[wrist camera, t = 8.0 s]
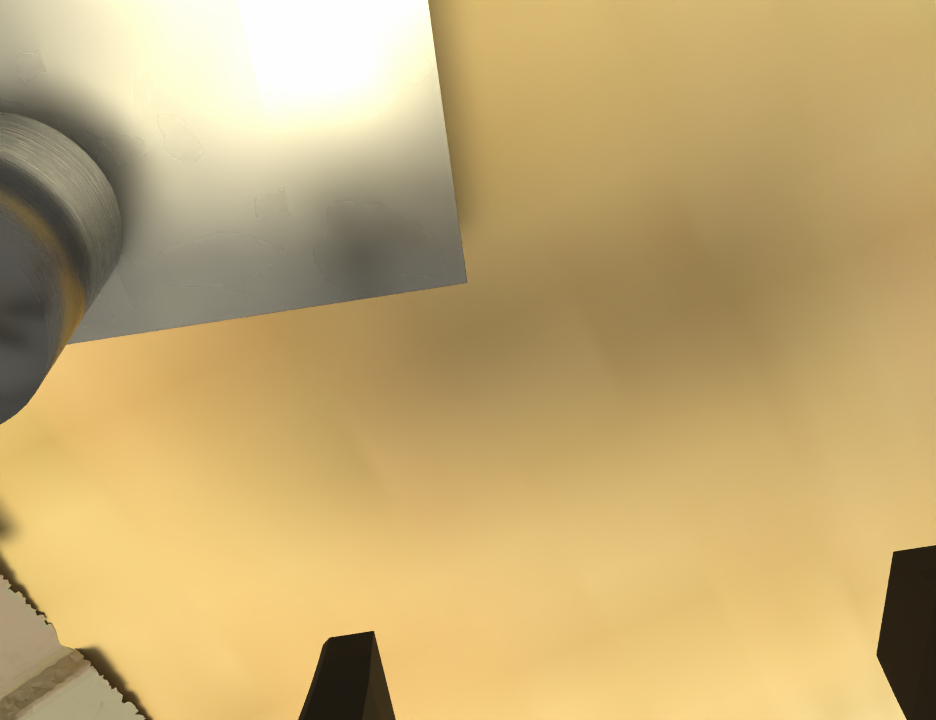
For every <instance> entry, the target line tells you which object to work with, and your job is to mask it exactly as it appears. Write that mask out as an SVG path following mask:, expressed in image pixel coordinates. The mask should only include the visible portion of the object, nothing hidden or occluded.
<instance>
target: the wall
mask: <svg viewBox="0 0 936 720" xmlns="http://www.w3.org/2000/svg"><path fill="white" fill-rule="evenodd" d="M10 586H11V584H9V582H8V580H4V579H3V575H0V720H145V719H146V718H144V716H142V715H137V714H136V713H137V712H138V710H137V709H136V706H134V705H133V704H132V703H131V702H126V703H122V697H123V695H122V694H120V693H119V692H118V691H117V688H114V689H112V690H111V686H109V682H108V681H107V680H104V679H103V676H104V675H102V676H99V674H98V672H97V670H96V669H95V668H93V666H92V667H91V663H90V661H88V660H83V658H84V656H83V654H80V652H79V651H78V650H77V649H76V648H75V649H74V650H72V649H71V648H69V647H65V646H63V645H61V644H60V643H59V640H58V637H57V633H56V630H55V629H54V628H53V625H52V624H48V625H47V624H46V623H45V621H44V620H46V618H45V617H44V615H38V616H37V614H36V610H35V609H33V608H31V605H30V604H26V602H25V600H26V598H25V597H23V596H22V594H21V593H20V592H19V591H18V592H17V593H14V592H13V591H12V590H11V589H9V587H10ZM90 667H91V668H90Z"/></svg>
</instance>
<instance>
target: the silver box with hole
mask: <svg viewBox="0 0 936 720" xmlns="http://www.w3.org/2000/svg"><path fill="white" fill-rule="evenodd" d="M463 283H467V277H466V270H465V262H464V255H463V248H462V241H461V234H460V227H459V220H458V213H457V206H456V198H455V191H454V184H453V177H452V170H451V163H450V156H449V149H448V141H447V134H446V127H445V120H444V113H443V106H442V99H441V92H440V85H439V77H438V70H437V63H436V56H435V49H434V42H433V35H432V28H431V20H430V13H429V6H428V0H0V424H2V423H4V422H5V421H7V420H8V419H10V418H11V417H13V416H14V415H15V414H17V413H18V412H19V411H20V410H21V409H22V408H23V407H24V406H25V405H26V404H27V403H28V402H29V400H30V399H31V398H32V397H33V395H34V394H35V393H36V391H37V389H38V388H39V386H40V385H41V383H42V382H43V380H44V378H45V377H46V375H47V374H48V372H49V371H50V369H51V368H52V366H53V364H54V363H55V361H56V360H57V358H58V357H59V355H60V353H61V352H62V350H63V349H64V347H65V346H66V345H67V344H73V343H80V342H86V341H93V340H99V339H106V338H112V337H119V336H125V335H132V334H138V333H145V332H151V331H158V330H164V329H171V328H177V327H184V326H190V325H197V324H203V323H210V322H216V321H223V320H229V319H236V318H242V317H249V316H255V315H262V314H268V313H275V312H281V311H288V310H294V309H301V308H307V307H314V306H320V305H327V304H333V303H340V302H346V301H353V300H359V299H366V298H372V297H379V296H385V295H392V294H398V293H405V292H411V291H418V290H424V289H431V288H437V287H444V286H450V285H457V284H463Z"/></svg>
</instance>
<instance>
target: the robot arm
mask: <svg viewBox="0 0 936 720" xmlns="http://www.w3.org/2000/svg"><path fill="white" fill-rule="evenodd" d="M877 657H878V660H879V662H880V664H881V666H882V668H883V671H884V673H885V675H886V677H887V679H888V682H889V684H890V686H891V688H892V690H893V693H894V695H895V697H896V699H897V701H898V703H899V705H900V707H901V709H902V711H903V713H904V715H905V717H906V719H907V720H936V545H934V546H928V547H921V548H915V549H908V550H901V551H895V552H893V557H892V563H891V569H890V575H889V581H888V588H887V594H886V600H885V606H884V612H883V618H882V624H881V630H880V636H879V642H878V648H877ZM298 720H396V719H395V715H394V711H393V707H392V703H391V699H390V695H389V691H388V687H387V683H386V679H385V674H384V670H383V666H382V662H381V658H380V654H379V650H378V646H377V642H376V638H375V634H374V631H370V632H364V633H357V634H351V635H344V636H337V637H331V638H329V639H328V640H327V641H326V642H325V643H324V644H323V647H322V651H321V654H320V658H319V661H318V664H317V668H316V671H315V674H314V677H313V680H312V683H311V686H310V689H309V692H308V695H307V697H306V700H305V703H304V706H303V708H302V711H301V714H300V716H299V719H298Z"/></svg>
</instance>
